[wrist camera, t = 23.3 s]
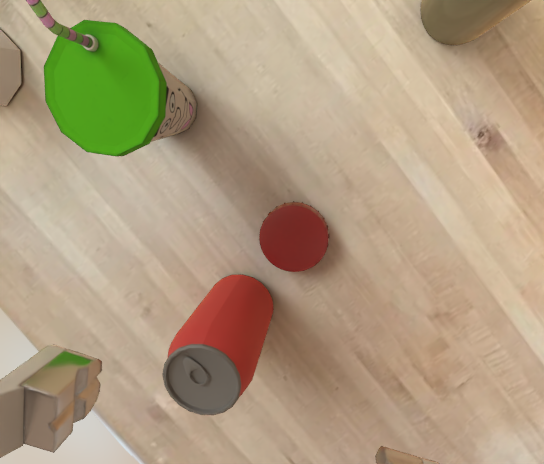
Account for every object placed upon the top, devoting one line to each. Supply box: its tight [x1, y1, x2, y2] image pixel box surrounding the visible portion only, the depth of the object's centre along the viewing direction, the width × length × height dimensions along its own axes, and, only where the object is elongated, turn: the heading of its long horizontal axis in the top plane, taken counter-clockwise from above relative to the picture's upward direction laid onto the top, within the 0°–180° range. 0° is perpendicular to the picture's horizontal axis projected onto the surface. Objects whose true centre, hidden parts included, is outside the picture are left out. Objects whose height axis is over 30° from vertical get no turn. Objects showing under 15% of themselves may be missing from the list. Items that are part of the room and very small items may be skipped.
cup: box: [26, 0, 197, 156], centre depth 23 cm, size 8×8×15 cm
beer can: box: [163, 275, 273, 415], centre depth 29 cm, size 7×7×12 cm
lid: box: [260, 201, 329, 272], centre depth 31 cm, size 6×6×2 cm
